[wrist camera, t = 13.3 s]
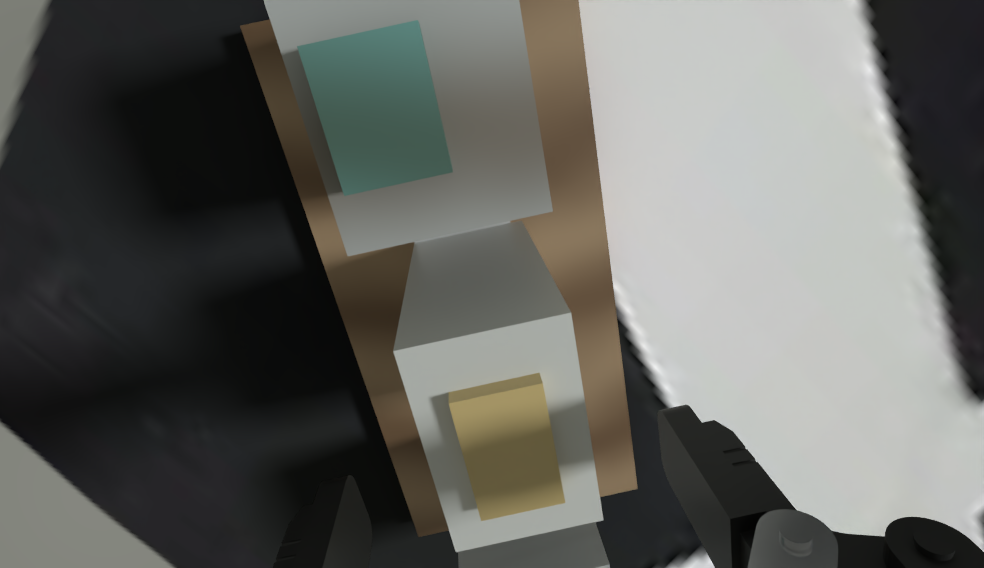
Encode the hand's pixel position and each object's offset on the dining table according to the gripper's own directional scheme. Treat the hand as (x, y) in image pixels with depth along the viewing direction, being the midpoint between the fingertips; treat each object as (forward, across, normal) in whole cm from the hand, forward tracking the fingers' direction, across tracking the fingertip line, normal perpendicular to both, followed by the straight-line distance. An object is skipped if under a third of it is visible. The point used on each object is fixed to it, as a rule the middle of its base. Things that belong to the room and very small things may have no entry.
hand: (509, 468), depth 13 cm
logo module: (+10, 0, 0) cm, 10 cm away
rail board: (+12, 0, 0) cm, 12 cm away
